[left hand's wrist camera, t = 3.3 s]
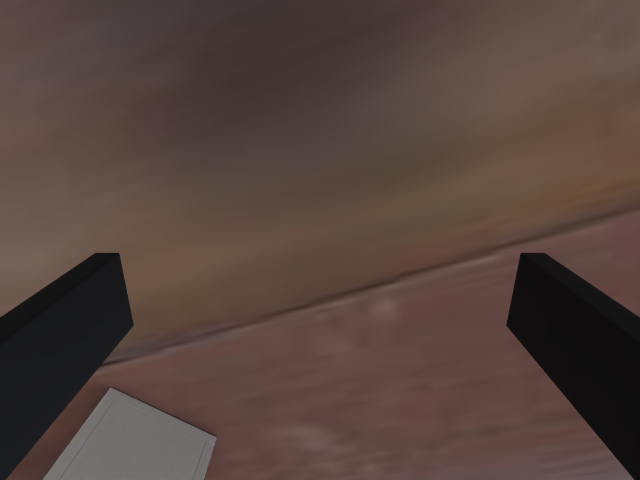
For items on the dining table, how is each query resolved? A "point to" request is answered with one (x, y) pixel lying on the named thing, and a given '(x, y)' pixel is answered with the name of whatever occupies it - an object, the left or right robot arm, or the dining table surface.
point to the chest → (133, 445)
